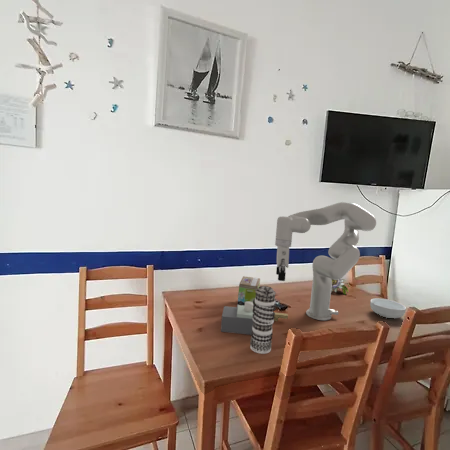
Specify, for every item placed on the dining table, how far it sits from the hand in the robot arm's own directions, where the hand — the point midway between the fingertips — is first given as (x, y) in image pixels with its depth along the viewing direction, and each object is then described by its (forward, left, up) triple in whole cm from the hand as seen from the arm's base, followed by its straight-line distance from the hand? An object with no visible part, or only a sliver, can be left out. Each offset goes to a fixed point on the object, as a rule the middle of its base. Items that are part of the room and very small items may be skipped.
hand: (280, 277), depth 145 cm
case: (+17, +12, -22) cm, 30 cm away
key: (0, 0, -22) cm, 22 cm away
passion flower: (-44, -54, -22) cm, 73 cm away
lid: (+14, +12, -15) cm, 24 cm away
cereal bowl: (-61, -20, -22) cm, 68 cm away
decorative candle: (+9, +28, -22) cm, 37 cm away
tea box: (+14, -13, -22) cm, 29 cm away
